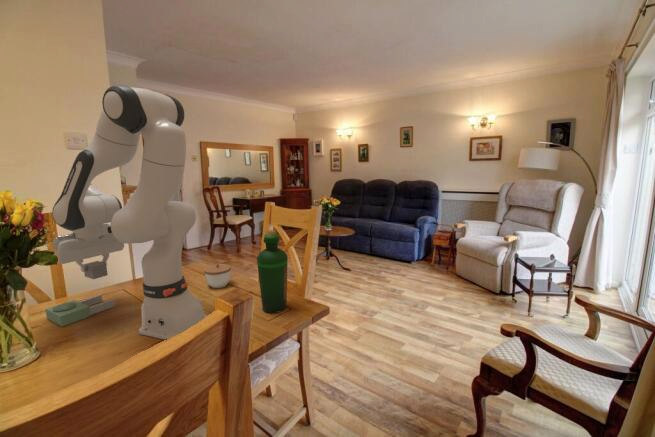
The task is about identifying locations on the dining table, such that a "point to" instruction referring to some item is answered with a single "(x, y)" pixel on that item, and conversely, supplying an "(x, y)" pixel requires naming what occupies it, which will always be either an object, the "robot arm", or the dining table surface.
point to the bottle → (272, 274)
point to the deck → (77, 310)
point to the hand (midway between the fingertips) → (94, 268)
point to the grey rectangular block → (96, 270)
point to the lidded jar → (218, 275)
